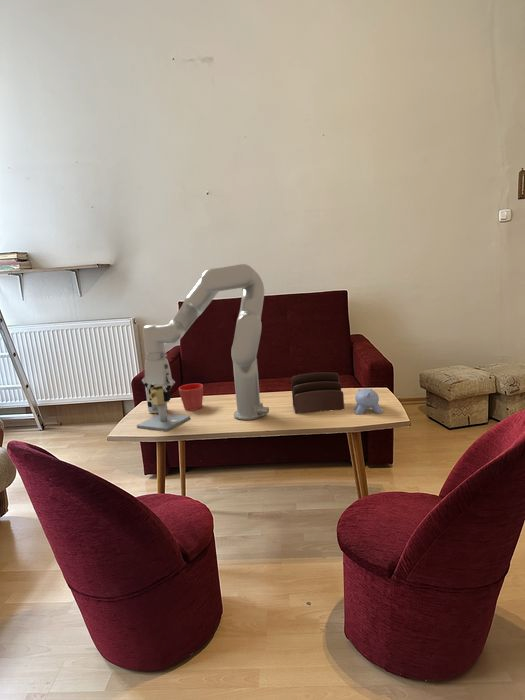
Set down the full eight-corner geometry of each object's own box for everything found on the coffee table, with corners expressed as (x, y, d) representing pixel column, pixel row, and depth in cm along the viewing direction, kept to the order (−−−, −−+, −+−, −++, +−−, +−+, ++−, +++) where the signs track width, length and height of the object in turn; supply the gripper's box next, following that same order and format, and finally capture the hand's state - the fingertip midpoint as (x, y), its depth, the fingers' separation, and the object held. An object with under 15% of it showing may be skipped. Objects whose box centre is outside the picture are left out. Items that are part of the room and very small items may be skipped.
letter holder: (292, 406, 190) (290, 374, 187) (339, 402, 190) (338, 370, 187) (294, 414, 180) (292, 380, 177) (344, 410, 180) (342, 375, 177)
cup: (159, 399, 184) (157, 385, 183) (172, 400, 181) (170, 385, 180) (144, 405, 177) (143, 390, 176) (158, 406, 174) (156, 391, 172)
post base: (190, 418, 184) (188, 399, 183) (166, 431, 171) (164, 411, 170) (161, 415, 191) (159, 397, 190) (136, 427, 178) (134, 408, 177)
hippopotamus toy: (378, 403, 184) (377, 380, 183) (385, 415, 170) (384, 391, 168) (351, 404, 185) (350, 382, 184) (356, 416, 171) (355, 392, 169)
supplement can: (147, 410, 200) (143, 377, 197) (166, 407, 203) (162, 374, 200) (149, 415, 193) (145, 381, 190) (169, 411, 195) (165, 378, 193)
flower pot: (176, 411, 195) (173, 389, 194) (188, 403, 206) (186, 383, 204) (198, 412, 192) (195, 390, 190) (209, 404, 202) (207, 383, 200)
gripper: (179, 355, 176) (183, 399, 179) (144, 353, 184) (149, 395, 187) (166, 358, 169) (171, 404, 172) (131, 357, 177) (136, 401, 180)
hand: (159, 399), depth 179 cm, fingers closed on cup, 6 cm apart
